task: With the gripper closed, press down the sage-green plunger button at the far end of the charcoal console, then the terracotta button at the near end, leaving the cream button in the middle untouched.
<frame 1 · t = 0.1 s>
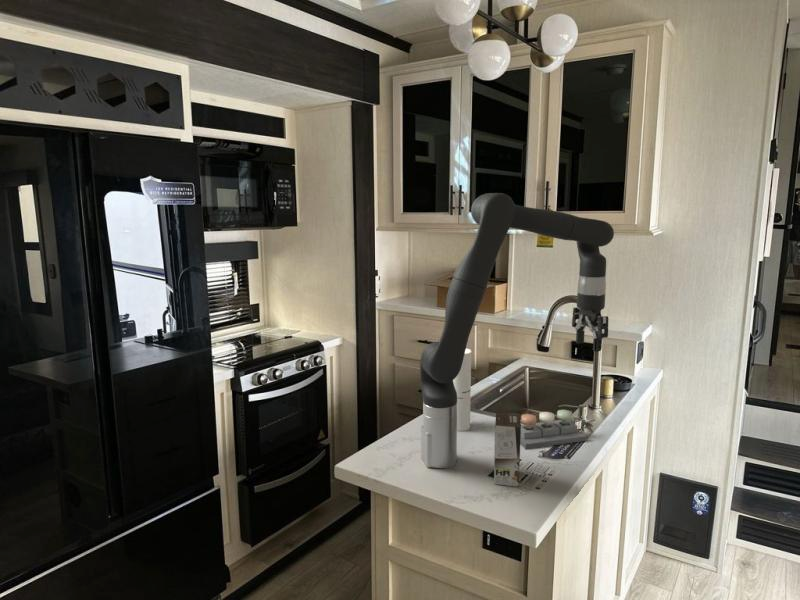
hand: (588, 347, 158), 29 cm above the counter, fingers open, 8 cm apart
coffee box: (506, 477, 143), on the counter
cylindrical container: (458, 426, 174), on the counter
cream button: (546, 420, 165), point 5 cm above the counter, slide at 0.0 cm
console: (546, 436, 166), on the counter
terracotta button: (528, 422, 164), point 5 cm above the counter, slide at 0.0 cm
sage button: (564, 417, 167), point 5 cm above the counter, slide at 0.0 cm
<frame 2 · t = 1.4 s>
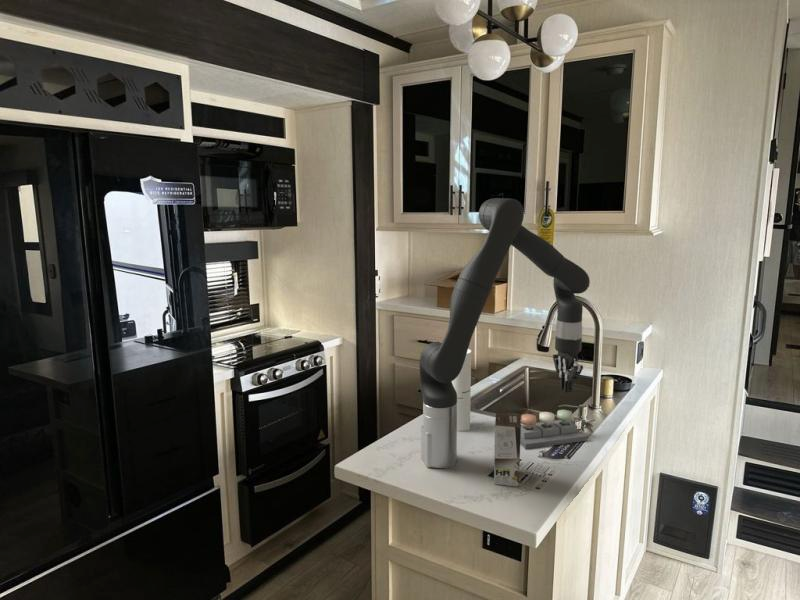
hand: (565, 390, 165), 14 cm above the counter, fingers closed
nothing on the counter moved.
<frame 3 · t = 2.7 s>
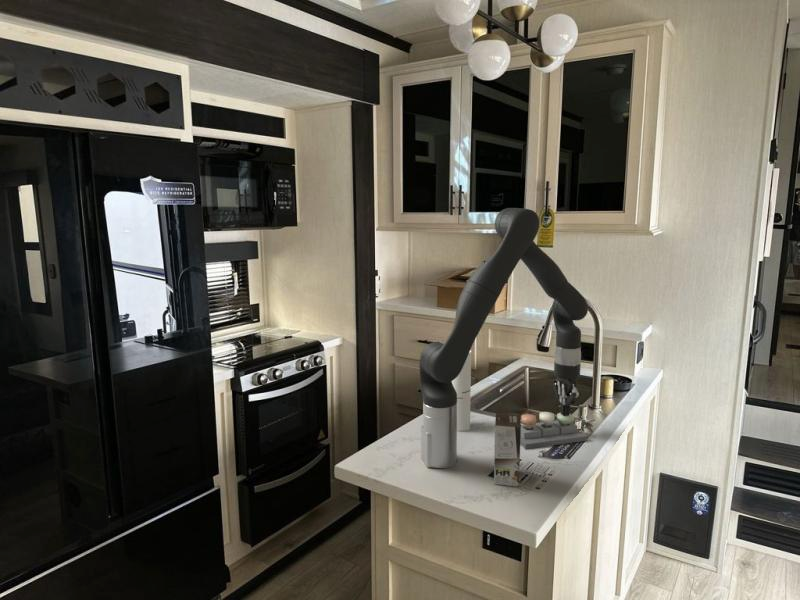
hand: (565, 415, 167), 6 cm above the counter, fingers closed
sage button: (564, 420, 167), point 4 cm above the counter, slide at 0.9 cm, touching gripper
everything else where it was.
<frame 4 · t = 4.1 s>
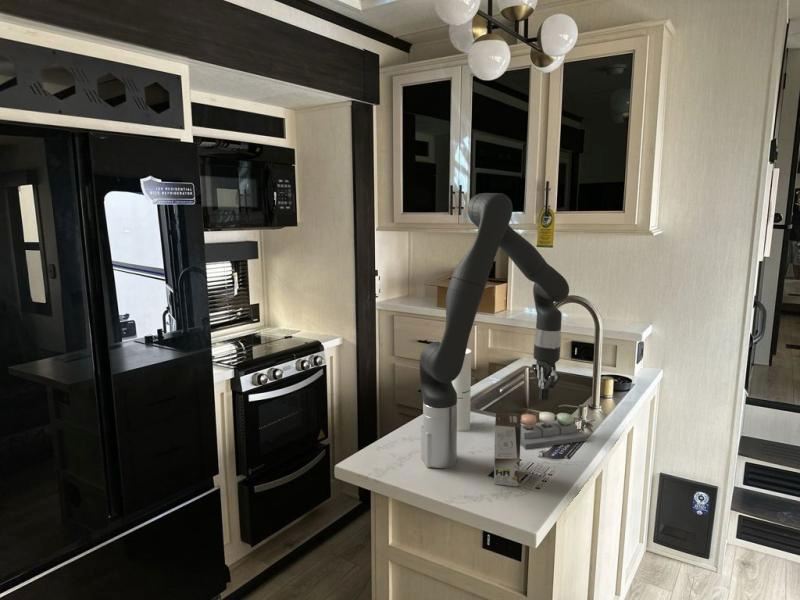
hand: (543, 399, 164), 12 cm above the counter, fingers closed
sage button: (564, 421, 167), point 4 cm above the counter, slide at 1.1 cm
everything else where it was.
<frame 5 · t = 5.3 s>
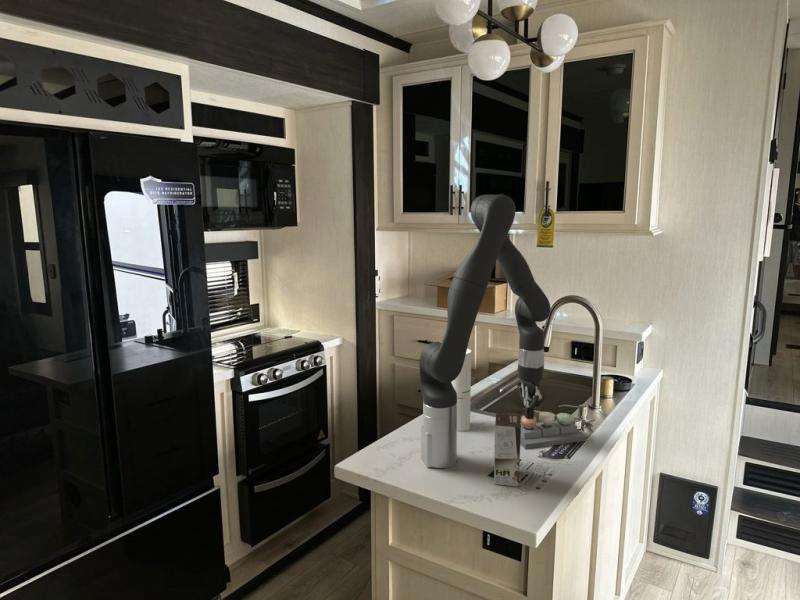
hand: (529, 418, 164), 7 cm above the counter, fingers closed
terracotta button: (528, 423, 164), point 5 cm above the counter, slide at 0.4 cm, touching gripper
everything else where it was.
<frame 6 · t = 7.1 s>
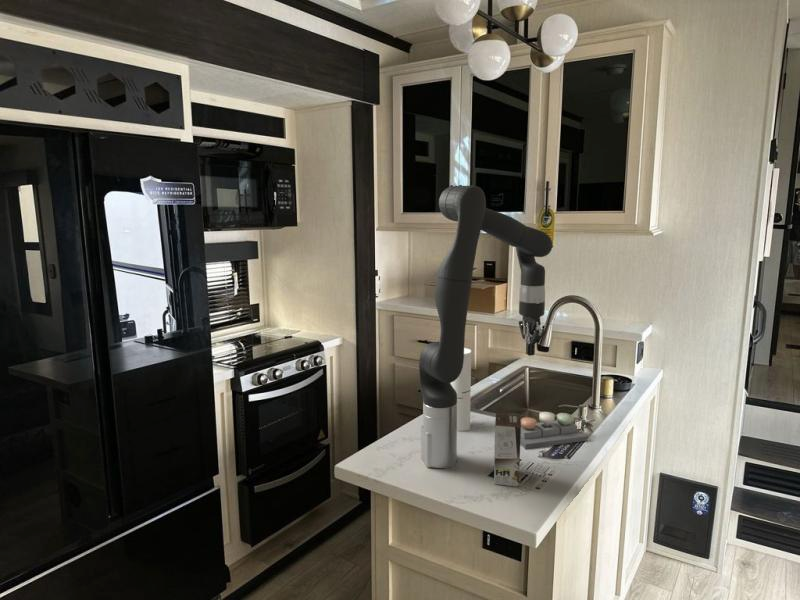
hand: (530, 354, 167), 24 cm above the counter, fingers closed
terracotta button: (528, 425, 164), point 4 cm above the counter, slide at 1.1 cm
everything else where it was.
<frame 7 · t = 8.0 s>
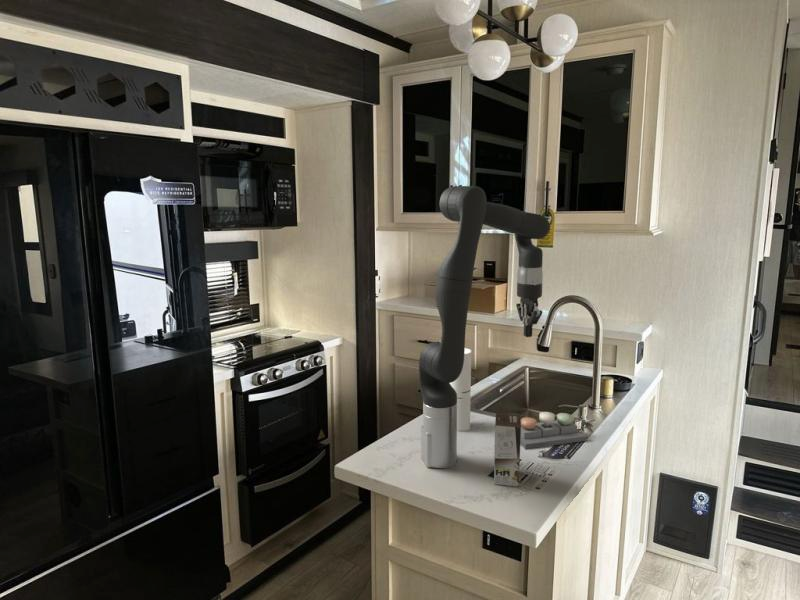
hand: (527, 336, 170), 29 cm above the counter, fingers closed
nothing on the counter moved.
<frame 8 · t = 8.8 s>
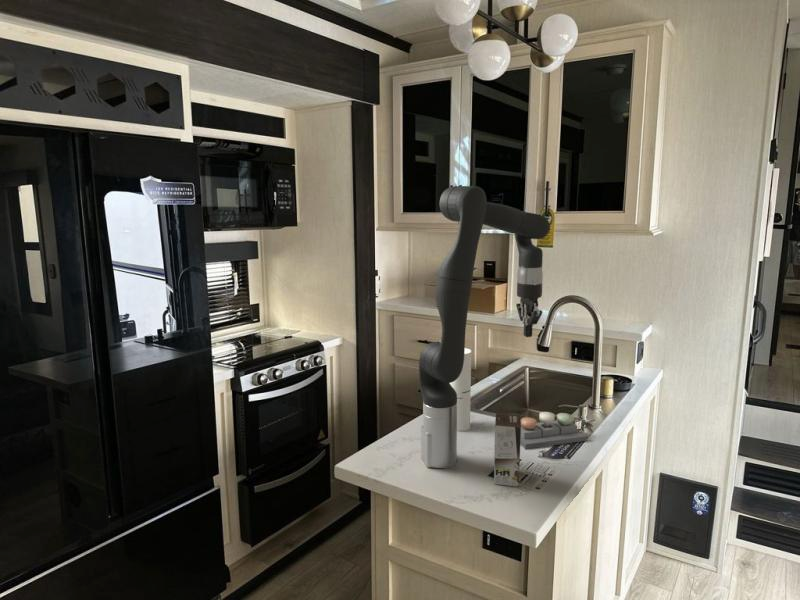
hand: (527, 336, 170), 29 cm above the counter, fingers closed
nothing on the counter moved.
at the end: sage button slide at 1.1 cm; terracotta button slide at 1.1 cm; cream button slide at 0.0 cm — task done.
